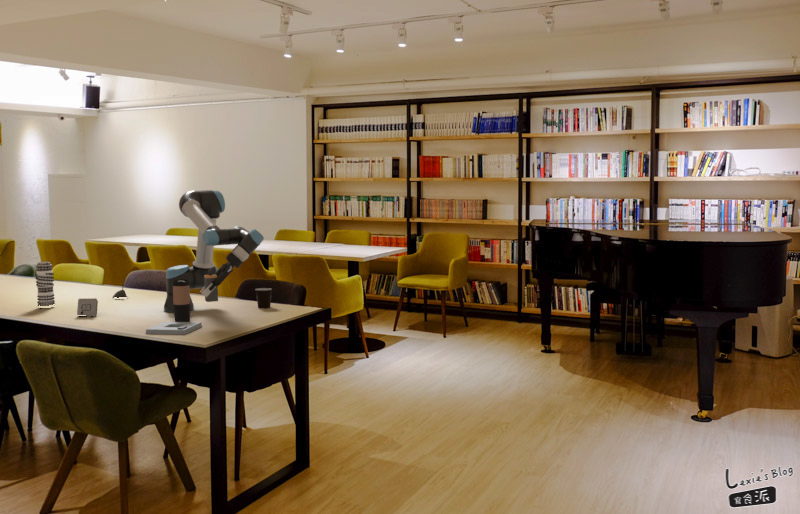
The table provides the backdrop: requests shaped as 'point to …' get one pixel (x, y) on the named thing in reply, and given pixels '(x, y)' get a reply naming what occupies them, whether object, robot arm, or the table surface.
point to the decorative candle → (45, 284)
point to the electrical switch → (87, 307)
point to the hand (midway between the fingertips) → (203, 294)
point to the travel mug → (181, 300)
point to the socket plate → (174, 328)
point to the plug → (207, 281)
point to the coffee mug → (263, 297)
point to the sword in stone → (120, 293)
